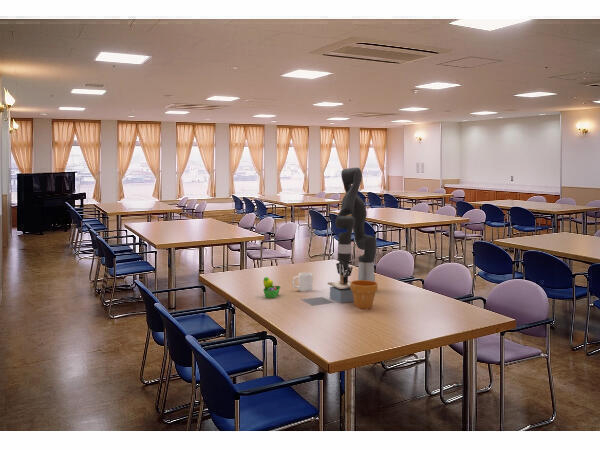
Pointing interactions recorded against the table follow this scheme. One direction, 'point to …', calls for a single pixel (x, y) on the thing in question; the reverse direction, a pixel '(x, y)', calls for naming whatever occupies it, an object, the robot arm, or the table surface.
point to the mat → (317, 301)
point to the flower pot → (363, 293)
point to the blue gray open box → (341, 294)
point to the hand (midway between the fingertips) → (343, 282)
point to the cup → (304, 282)
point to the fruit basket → (270, 288)
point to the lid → (341, 283)
